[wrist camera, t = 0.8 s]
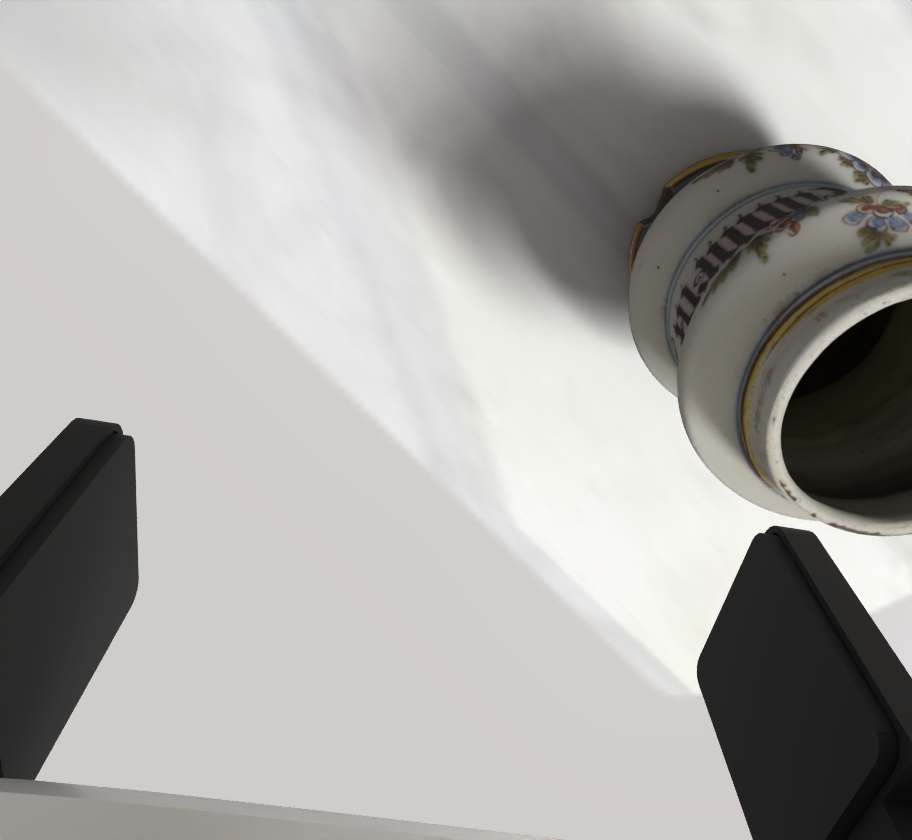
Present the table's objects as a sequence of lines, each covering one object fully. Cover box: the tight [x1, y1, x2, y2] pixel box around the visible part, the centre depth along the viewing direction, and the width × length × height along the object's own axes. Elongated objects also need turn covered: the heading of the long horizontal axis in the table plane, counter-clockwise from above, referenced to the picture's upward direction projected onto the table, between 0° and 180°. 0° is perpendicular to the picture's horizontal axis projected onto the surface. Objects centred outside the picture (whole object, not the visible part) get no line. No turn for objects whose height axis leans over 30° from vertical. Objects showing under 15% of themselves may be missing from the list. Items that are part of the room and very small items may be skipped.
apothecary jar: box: [628, 144, 912, 536], centre depth 30 cm, size 12×12×18 cm
